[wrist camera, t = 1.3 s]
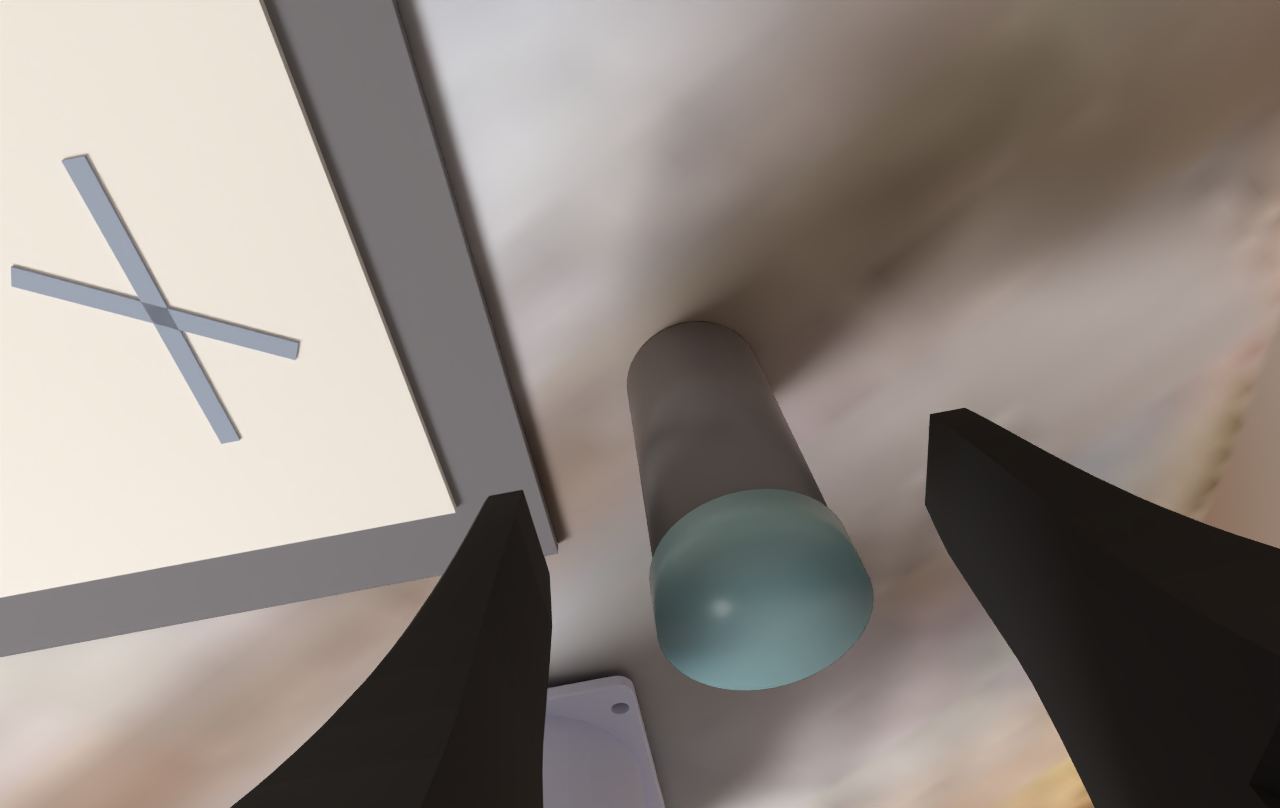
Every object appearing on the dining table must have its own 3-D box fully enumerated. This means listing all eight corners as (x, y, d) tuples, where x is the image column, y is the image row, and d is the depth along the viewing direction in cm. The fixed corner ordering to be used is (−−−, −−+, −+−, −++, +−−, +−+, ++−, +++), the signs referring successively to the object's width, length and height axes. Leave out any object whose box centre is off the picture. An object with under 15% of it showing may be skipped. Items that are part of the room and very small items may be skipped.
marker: (767, 427, 18) (873, 669, 12) (634, 451, 18) (672, 706, 12) (757, 305, 16) (873, 514, 10) (610, 332, 16) (640, 559, 10)
